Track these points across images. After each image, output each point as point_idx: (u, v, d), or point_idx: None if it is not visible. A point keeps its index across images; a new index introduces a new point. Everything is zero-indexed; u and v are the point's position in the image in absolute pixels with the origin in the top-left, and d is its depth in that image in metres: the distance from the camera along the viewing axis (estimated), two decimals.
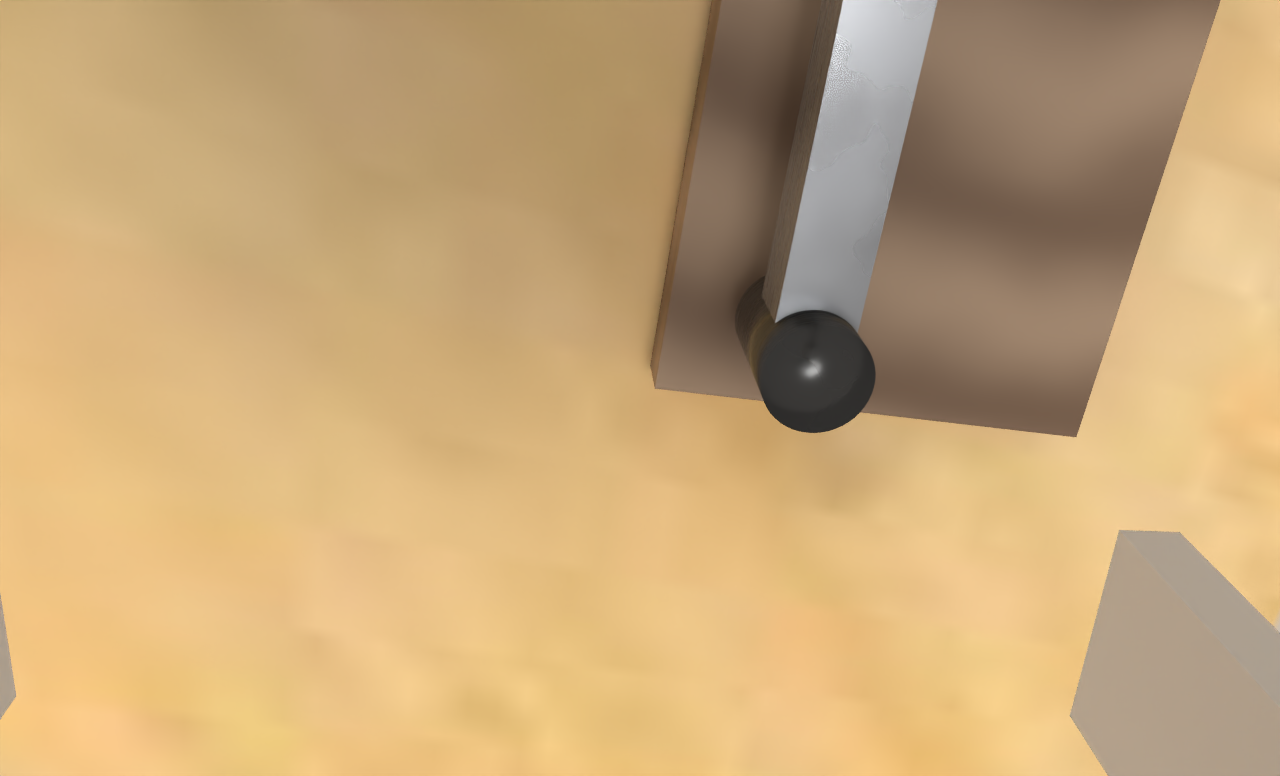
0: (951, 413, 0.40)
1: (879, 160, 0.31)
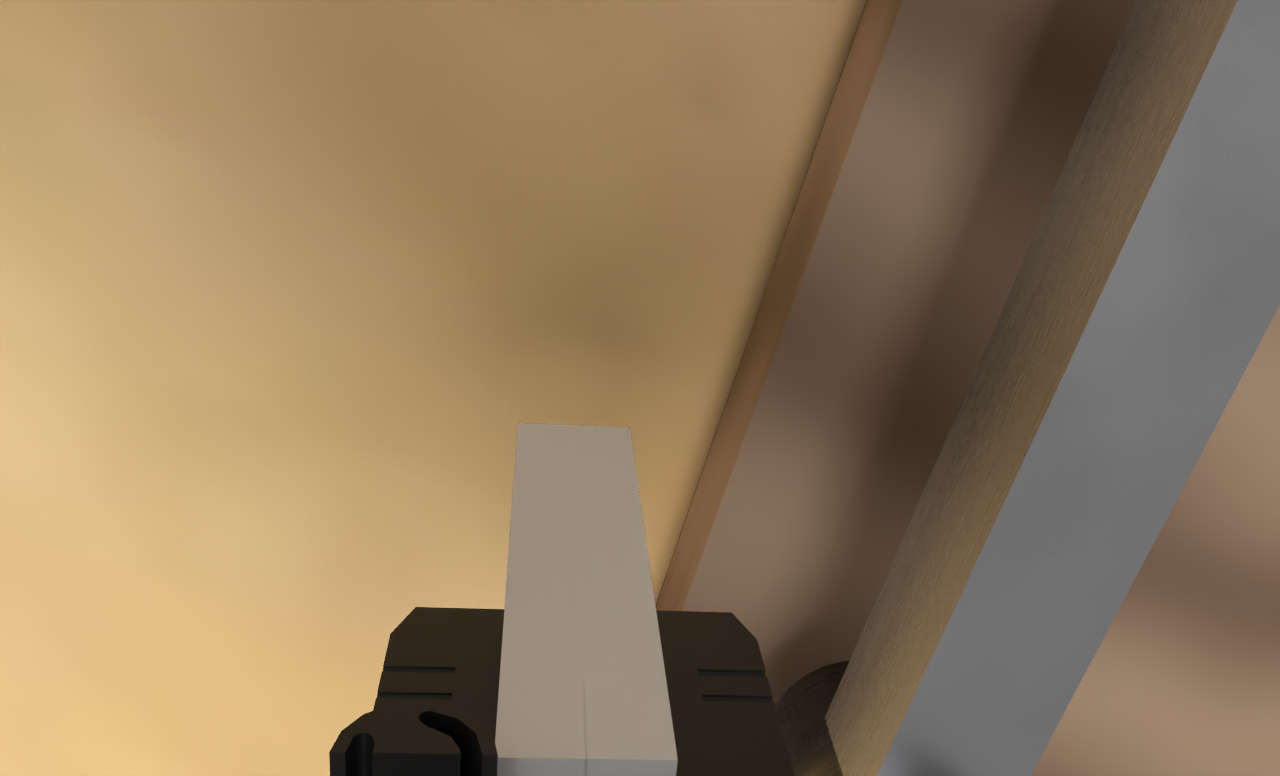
0: None
1: (1094, 586, 0.17)
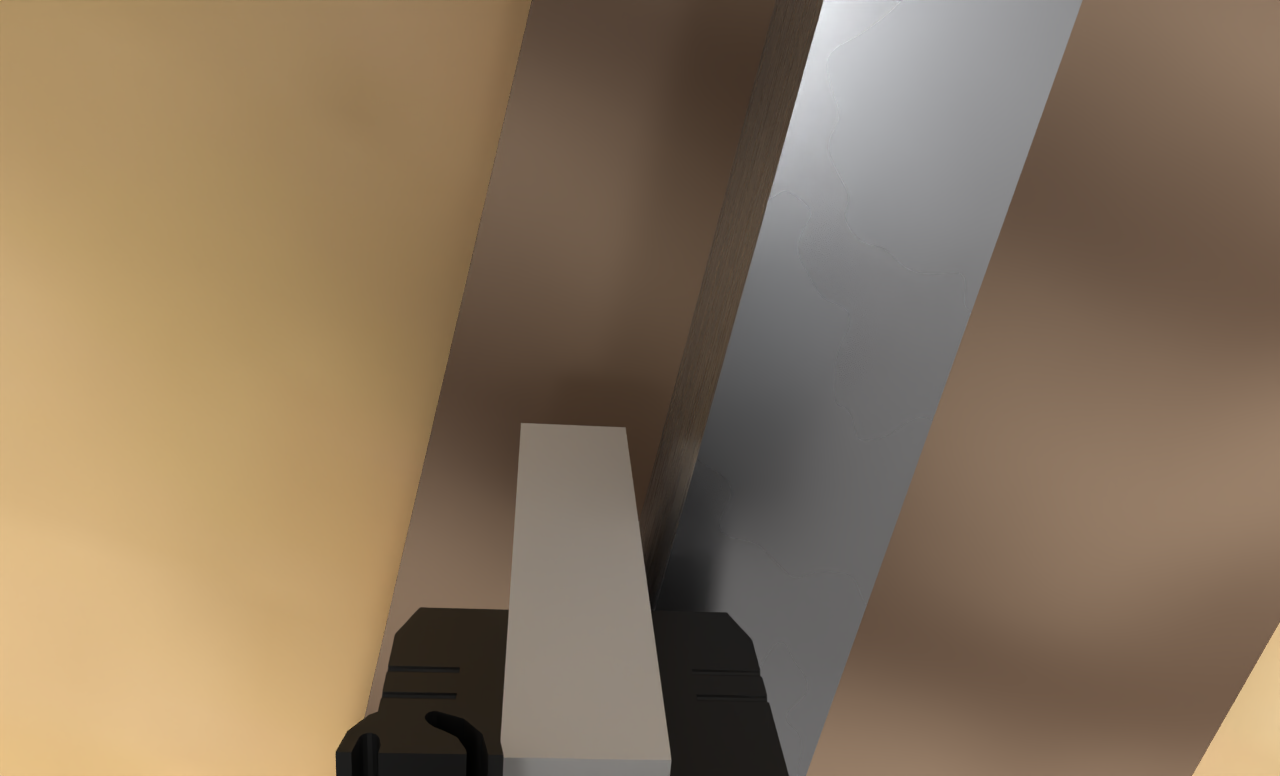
0: None
1: (785, 710, 0.14)
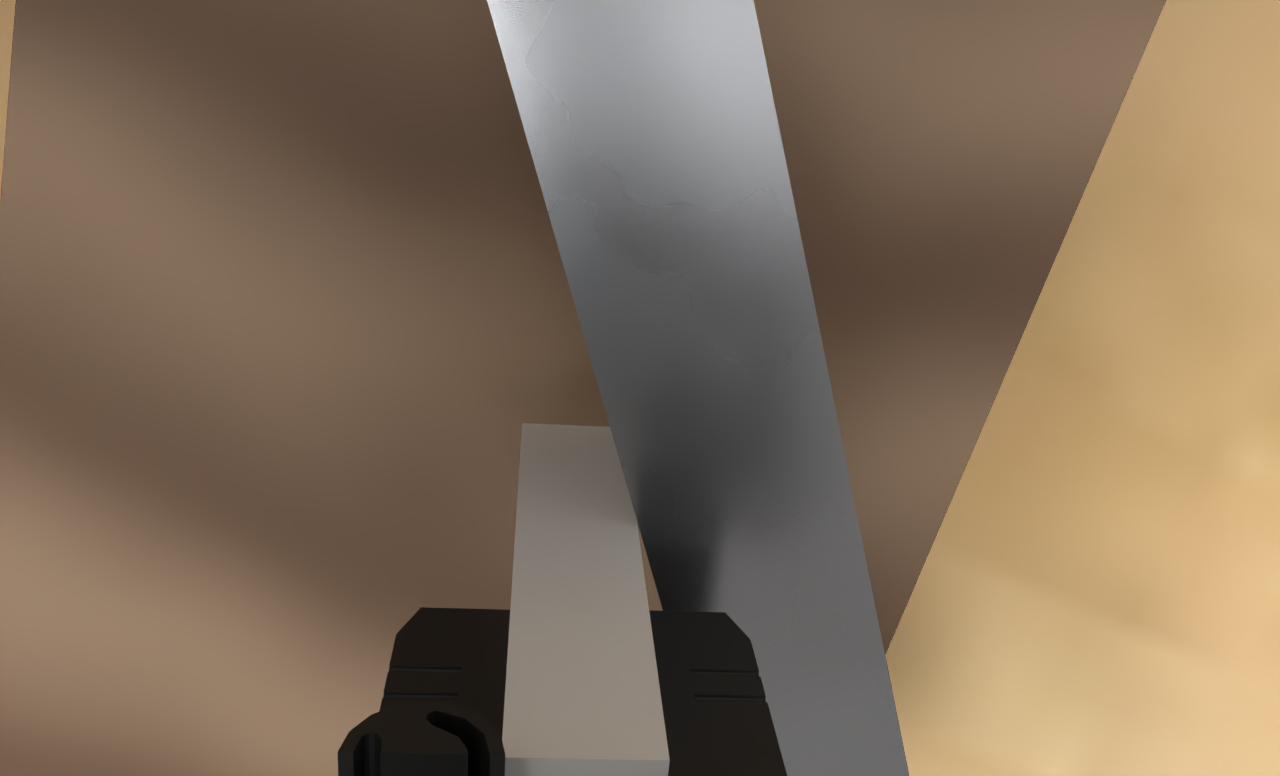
0: None
1: (838, 650, 0.14)
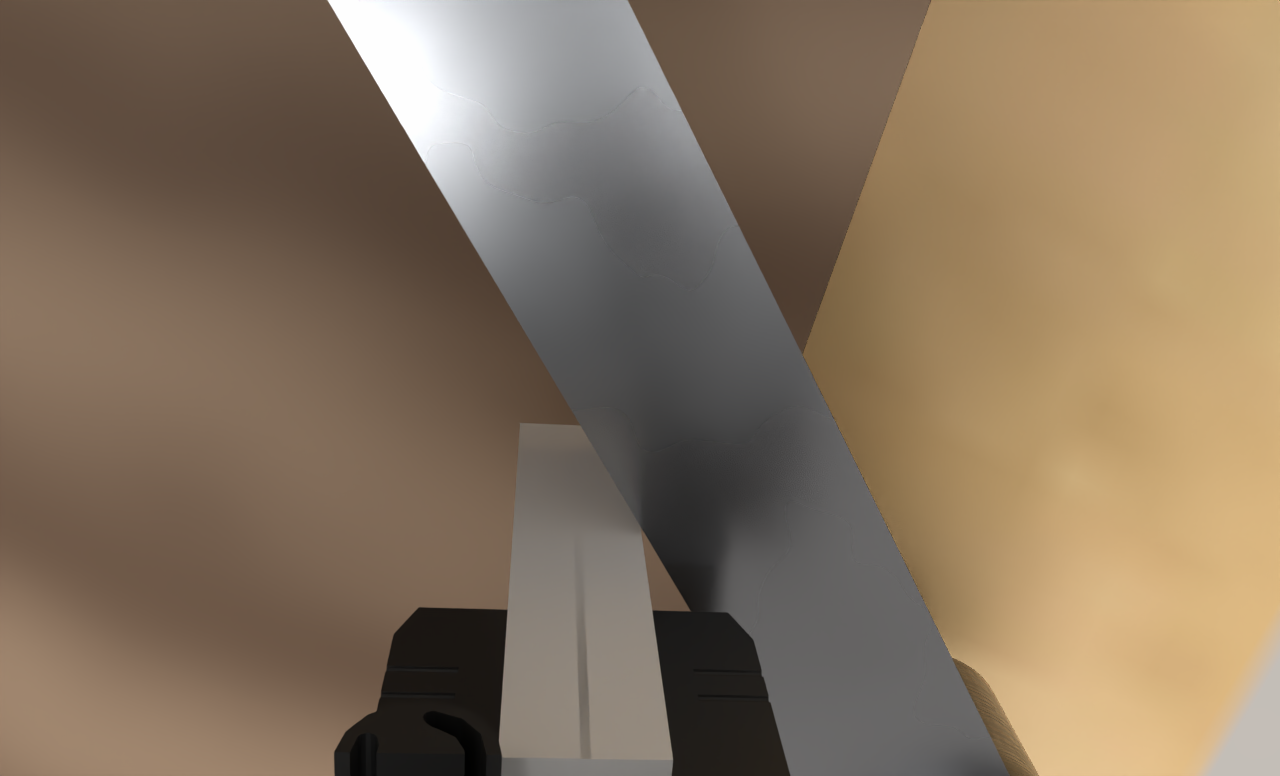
0: None
1: (848, 555, 0.13)
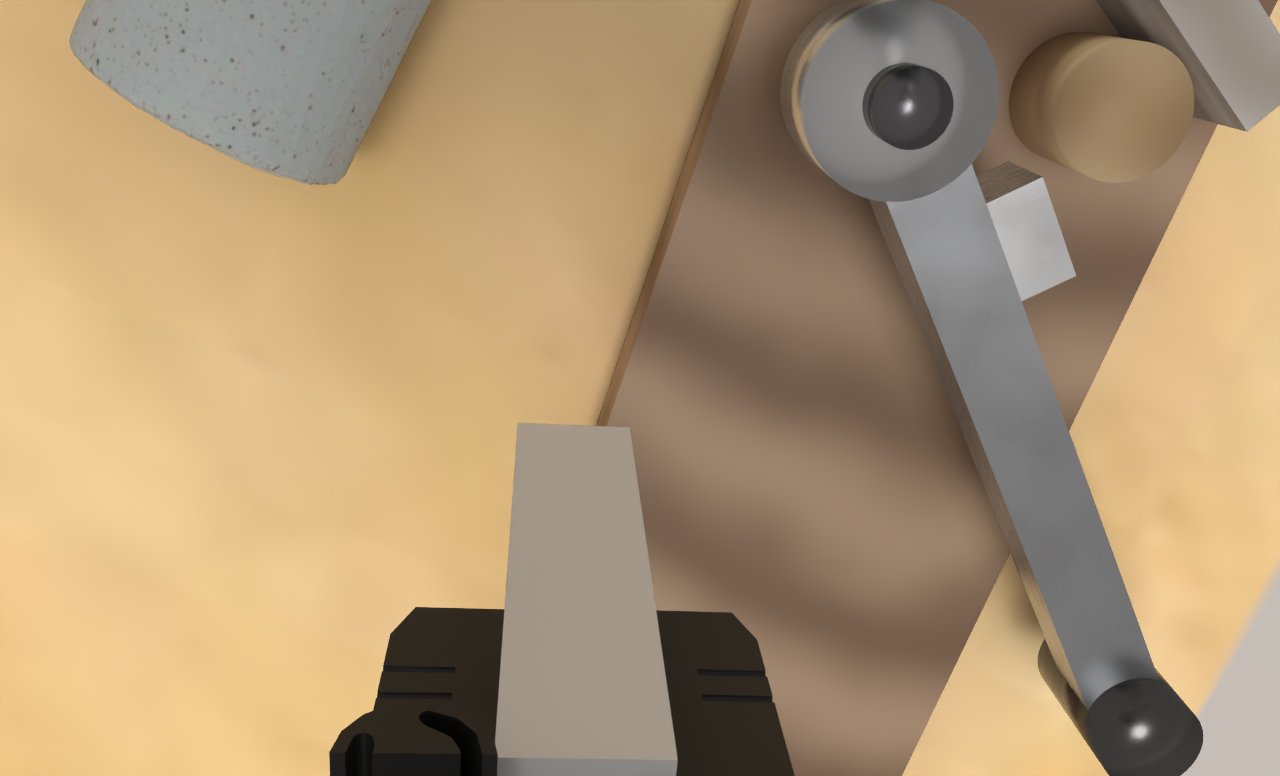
0: None
1: (1099, 566, 0.35)
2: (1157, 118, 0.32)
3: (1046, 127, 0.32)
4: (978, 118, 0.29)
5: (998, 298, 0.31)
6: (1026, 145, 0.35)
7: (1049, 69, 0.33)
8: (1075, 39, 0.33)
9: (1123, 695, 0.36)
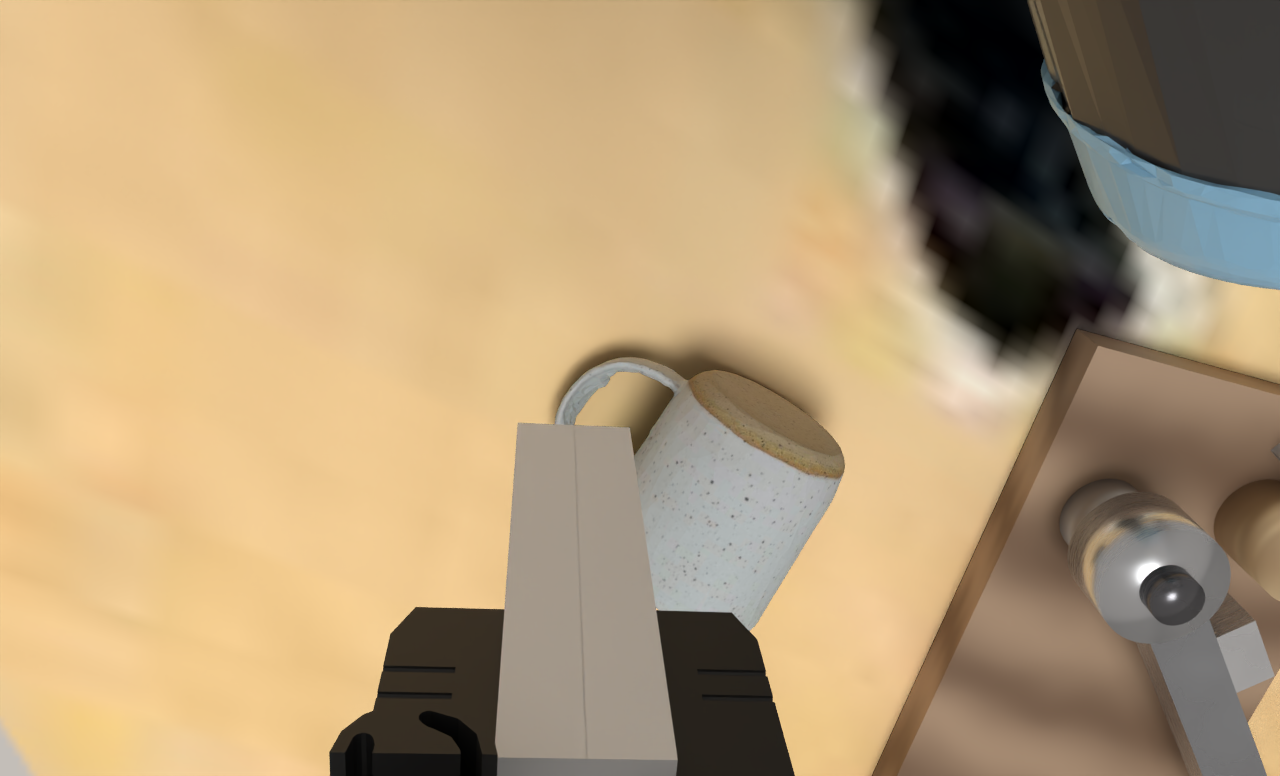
0: None
1: None
2: None
3: (1250, 566, 0.47)
4: (1215, 593, 0.44)
5: (1220, 692, 0.46)
6: None
7: (1250, 523, 0.47)
8: (1267, 497, 0.47)
9: None
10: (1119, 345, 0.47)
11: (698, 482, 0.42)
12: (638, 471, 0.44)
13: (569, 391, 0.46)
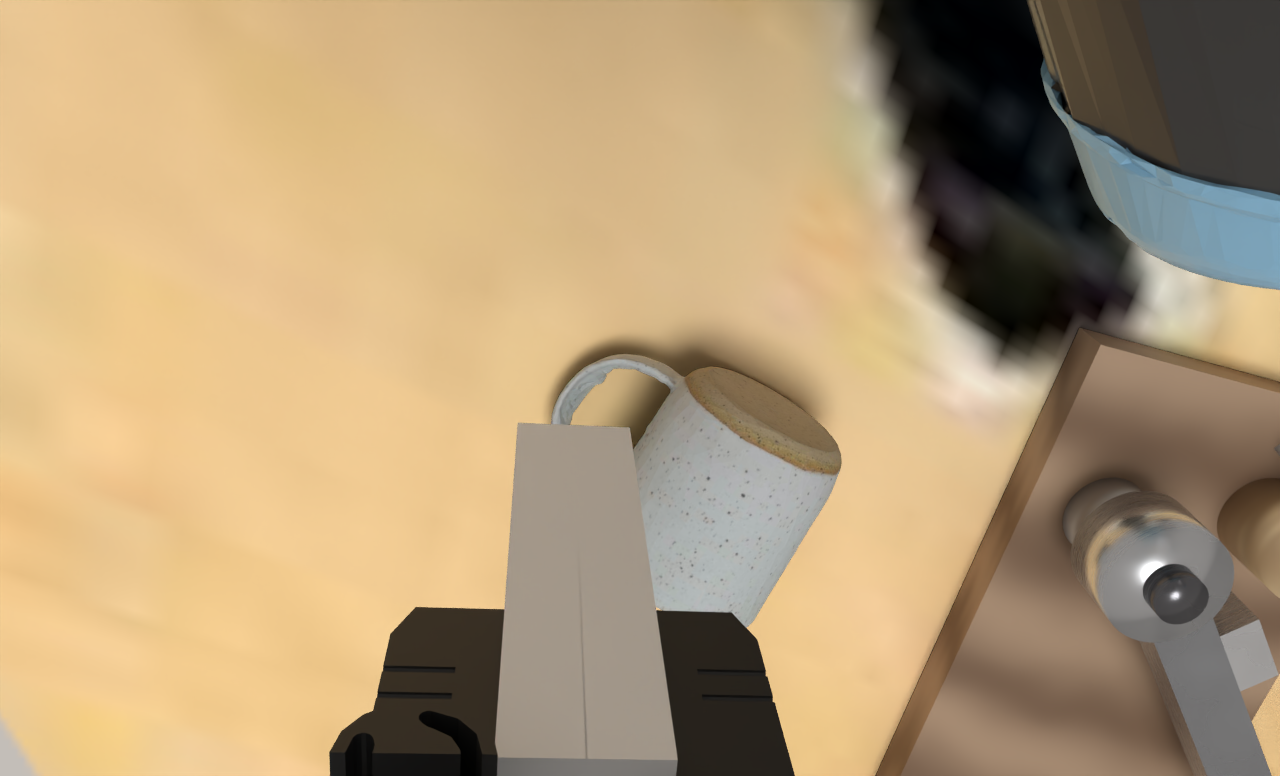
0: None
1: None
2: None
3: (1253, 564, 0.47)
4: (1219, 592, 0.44)
5: (1224, 690, 0.46)
6: None
7: (1254, 521, 0.47)
8: (1270, 495, 0.47)
9: None
10: (1122, 344, 0.47)
11: (695, 479, 0.42)
12: None
13: (565, 388, 0.46)
